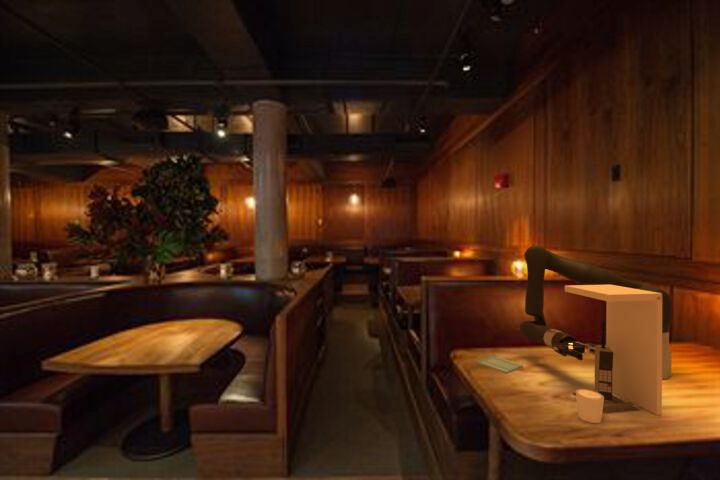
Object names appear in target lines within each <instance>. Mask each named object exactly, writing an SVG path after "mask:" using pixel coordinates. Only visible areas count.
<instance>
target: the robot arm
mask: <svg viewBox="0 0 720 480" xmlns="http://www.w3.org/2000/svg"><path fill="white" fill-rule="evenodd" d="M523 258H524V260H525V263H526V269H527V278H526V279H527V280H526V281H527V283H526V288H525V289H526V291H525V297H524V299H525V301H524V312H525V314H526V315H528V316H531V317H533V319H534V320H525V321H522V322H521V323H520V325H519V332H520V334H521V335H522V336H523V337H524V338H526V339H528V340H531V341H534V342H538V343H542V344H543V345H544V346H545V345H546V346H548V347H549V348H551V350H553V351H554V353H557V354H559V355H561V356H563V357H570V358H575V359H577V360H579V361H583V359H584V358H583V357H584V356H583V355H586V356H590V355H592V356H595V346H597V345H596V344H594V343H591V342H585V343H582V342H580V341H577V339H576V338H575V336H574V335H571V334H568V333H566V332H563V331H561V330H558V329H554V328H552V327H549V326H547V322H546V318H545V314H544V313H545V312H544V308H545V307H544V306H545V305H544V304H545V303H544V301H545V298H544V297H545V293H544V291H545V290H544V289H545V288H544V287H545V283H544V282H545V274H546V271H550V272H554V273H556V274H558V275H560V276H562V277H564V278H565V279H568V280H569V281H572V282H574V283H576V284H578V285H616V286H622V287H628V288H633V289H639V290H645V291H651V292H657V293H662V380H668V379H669V378H672V351H671V350H670V327H671V325H672V317H673V316H672V315H673V314H672V313H673V303H672V301H673V300H672V298H671V295H670V294H669V293H668V292H667V291H665V290H663V289H661V288H659V287H656V286H652V285H647V284H644V283H641V282H636V281H632V280H629V279H627V278H624V277H622V276H619V275H618V274H615V273H614V272H612V271H609V270H607V269H605V268H603V267H600V266H597V265H594V264H591V263H588V262H585V261H581V260H577V259H575V258H570V257H569V258H568V257H565V256H561V255H559V254H556V253H554V252H552V251H550V250H547V249H546V248H545V247H543V246H541V245H531V246H529V247H528V248H527V249H526V250H525V251H524V257H523Z"/></svg>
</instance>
